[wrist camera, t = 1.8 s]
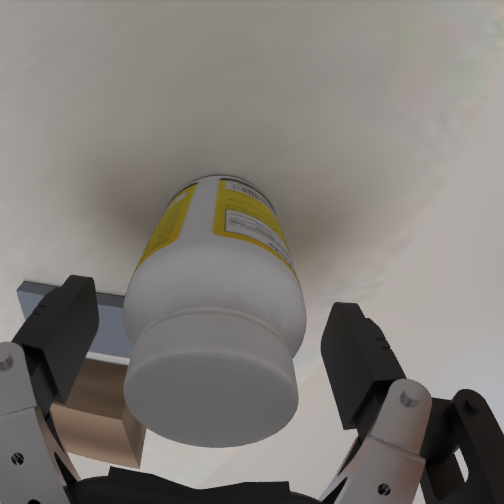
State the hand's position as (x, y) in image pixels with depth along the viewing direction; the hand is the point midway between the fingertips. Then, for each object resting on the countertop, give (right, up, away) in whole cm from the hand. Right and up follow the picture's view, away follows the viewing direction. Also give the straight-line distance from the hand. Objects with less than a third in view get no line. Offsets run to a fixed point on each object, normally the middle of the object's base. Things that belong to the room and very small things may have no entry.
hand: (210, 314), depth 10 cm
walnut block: (-10, -8, +9) cm, 15 cm away
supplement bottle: (0, +3, +5) cm, 6 cm away
